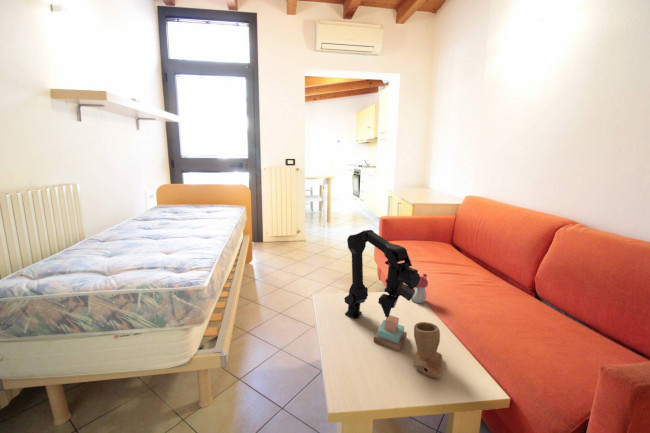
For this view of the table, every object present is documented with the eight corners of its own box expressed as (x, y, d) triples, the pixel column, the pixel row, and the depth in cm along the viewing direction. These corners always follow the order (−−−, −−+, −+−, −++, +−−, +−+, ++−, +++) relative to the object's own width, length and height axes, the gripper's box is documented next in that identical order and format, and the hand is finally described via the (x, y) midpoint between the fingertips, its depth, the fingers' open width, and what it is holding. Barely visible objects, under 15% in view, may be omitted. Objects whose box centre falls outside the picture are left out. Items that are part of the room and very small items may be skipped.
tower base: (381, 330, 137) (382, 324, 136) (406, 338, 132) (406, 332, 131) (373, 343, 127) (374, 336, 126) (399, 352, 122) (400, 346, 121)
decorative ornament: (421, 296, 169) (425, 271, 166) (429, 302, 164) (433, 276, 160) (407, 299, 166) (411, 273, 163) (415, 305, 160) (419, 278, 157)
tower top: (383, 325, 135) (383, 319, 134) (403, 332, 131) (404, 326, 130) (376, 336, 127) (377, 329, 126) (398, 343, 123) (399, 337, 122)
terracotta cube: (387, 324, 131) (388, 314, 130) (397, 327, 129) (399, 318, 128) (384, 329, 127) (385, 319, 126) (394, 332, 125) (396, 323, 124)
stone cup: (413, 347, 125) (417, 314, 122) (443, 357, 120) (449, 323, 117) (405, 370, 112) (410, 333, 108) (439, 382, 107) (445, 345, 103)
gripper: (409, 291, 111) (404, 329, 115) (419, 274, 127) (414, 308, 131) (380, 283, 116) (375, 320, 120) (393, 268, 132) (389, 300, 136)
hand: (390, 312), depth 126 cm, fingers open, 9 cm apart
